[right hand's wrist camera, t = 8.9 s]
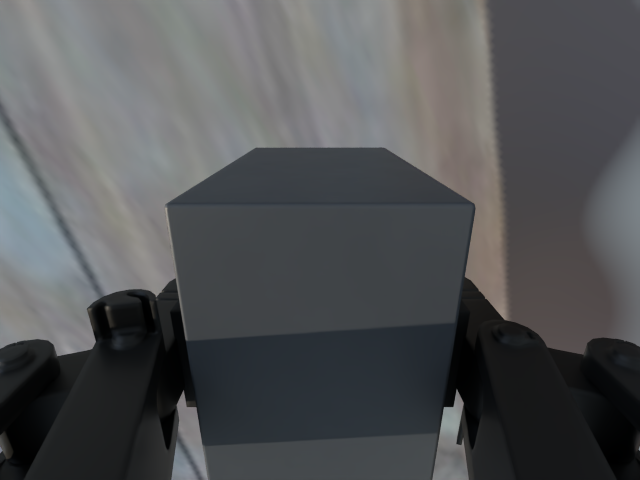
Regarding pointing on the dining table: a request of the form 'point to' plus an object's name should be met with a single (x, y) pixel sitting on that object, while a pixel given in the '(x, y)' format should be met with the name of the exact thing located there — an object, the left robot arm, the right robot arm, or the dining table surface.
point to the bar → (320, 312)
